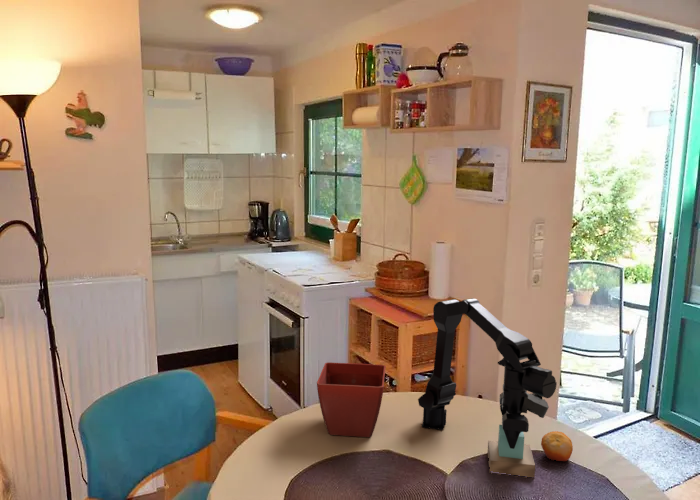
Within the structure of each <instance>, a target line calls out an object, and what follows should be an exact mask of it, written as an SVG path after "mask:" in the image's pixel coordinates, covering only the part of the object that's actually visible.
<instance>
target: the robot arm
mask: <svg viewBox="0 0 700 500" xmlns="http://www.w3.org/2000/svg"><path fill="white" fill-rule="evenodd" d="M432 311H433V313H432V314H433V322H434V324H435V326H436V328H437V334H436V343H435V353H434V362H433V363H434V364H433V365H434V366H433V371H432V372H433V374H432V375H431V376H430V378H429V380H428V381H427V384H426V389H425V391H424V393H423V394H422V395H421V396H419V398H418V399H417V401H418V406H419V407H421V408H422V411H423V414H422V416H423V417H422V424H421V427H422V428H425V429H434V430H442V431H443V430H445V427H446V425H447V412H448V411H447V409H445V408H446V406H449V405H450V404H451V401H452V400H453V399H454V397H455V396H457V394H456V388H457V383H456V382H454V381H453V380H452V377H451V368H452V360H453V359H452V358H453V350H454V341H455V332H456V329H457V328H458V327H459V325H460V323H461V322H462V318H463V315H466V317H468V318H469V319H470V320H471V321H472V322H473V323H475V324H476V326H477V327H479V328H480V329H481V330H482V331H483V332H484V333H485V334H486V335H487V336H488V337H489V338H491V340H492V341H494V343H495V346H496V349H497V351H498V352H499V354H500V355H501V356H502V357H503V358H502V359H501V360H499V361H497V365H499V366H502V367H504V371H503V384H502V392H501V393H500V394H499V398H498V399H499V401H498V402H499V409H500V413H501V425H502V429H503V430H504V433H505V435H506V438H507V441H508V444H509V447H510V448H511V449H514V448H515V445H516V443H517V440H518V437H519V434H520V433H521V432H523V433H527V432H529V428H530V427H529V426H530V424H529V419H528V418H527V416H526V415H525V414H528V412H530V413H532V414H534V415H537V416H538V417H539V418H540V419H541V418H542V419H543V418H544V417H545V416H546V413H547V412H548V410H549V407H550V406H549V404H548V401H547V400H546V399H549V398H551V397H553V395H554V393H555V392H556V389H557V381H556V377H555V376H554V375H553V371H552V370H551V369H549V368H548V369H547V368H543V367H540V366H541V362H540V360H539V357H538V356H537V354H536V352H535V349H534V347H533V343H532V341H531V340H530V339H529V338H528V337H527V336H525V335H523V334H522V333H520V332H518V331H516V330H512V329H510V328H508V327H506V325H504V324H503V323H502V322H501V321H500V320H499V319H498V318H497V317H496V316H495V315H493V314H492V313H491V312H490V311H489V310H488V309H487V308H485V306H483V305H482V304H481V303H480V301H479V300H478V299H477V298H474V297H473V298H466V299H463V300H461V301H459V300H457V299H456V298H455V299H448V300H442V301H441V300H440V301H437V302H436V303H435V304H434V305H433V310H432ZM526 359H528V360H526ZM523 360H524V361H523ZM521 361H522V362H521ZM528 392H529V393H528ZM543 398H544V399H543Z"/></svg>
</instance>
